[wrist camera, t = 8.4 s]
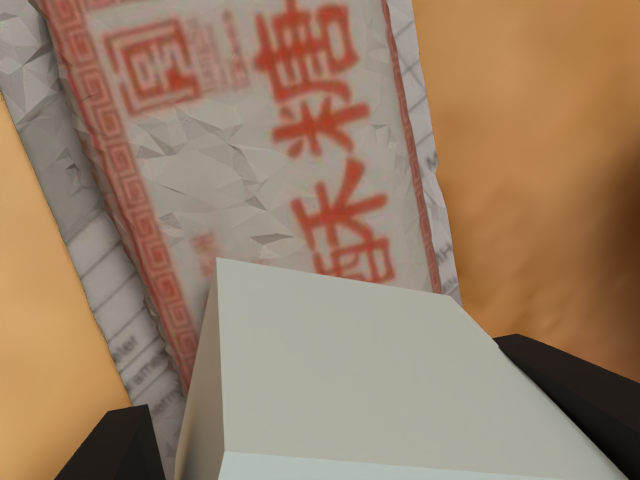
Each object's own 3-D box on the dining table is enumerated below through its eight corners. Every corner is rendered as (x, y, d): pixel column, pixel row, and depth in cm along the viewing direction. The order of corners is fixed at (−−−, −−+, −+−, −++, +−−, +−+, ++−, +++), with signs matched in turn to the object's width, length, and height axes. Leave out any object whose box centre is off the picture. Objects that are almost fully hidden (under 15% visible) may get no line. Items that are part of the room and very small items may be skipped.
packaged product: (-148, -49, 9) (458, -184, 10) (-28, -16, 13) (378, -110, 14) (205, 694, 15) (552, 567, 16) (205, 545, 20) (476, 453, 21)
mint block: (450, 295, 11) (635, 485, 6) (392, 471, 12) (512, 746, 7) (216, 257, 10) (223, 451, 5) (175, 454, 11) (152, 765, 6)
